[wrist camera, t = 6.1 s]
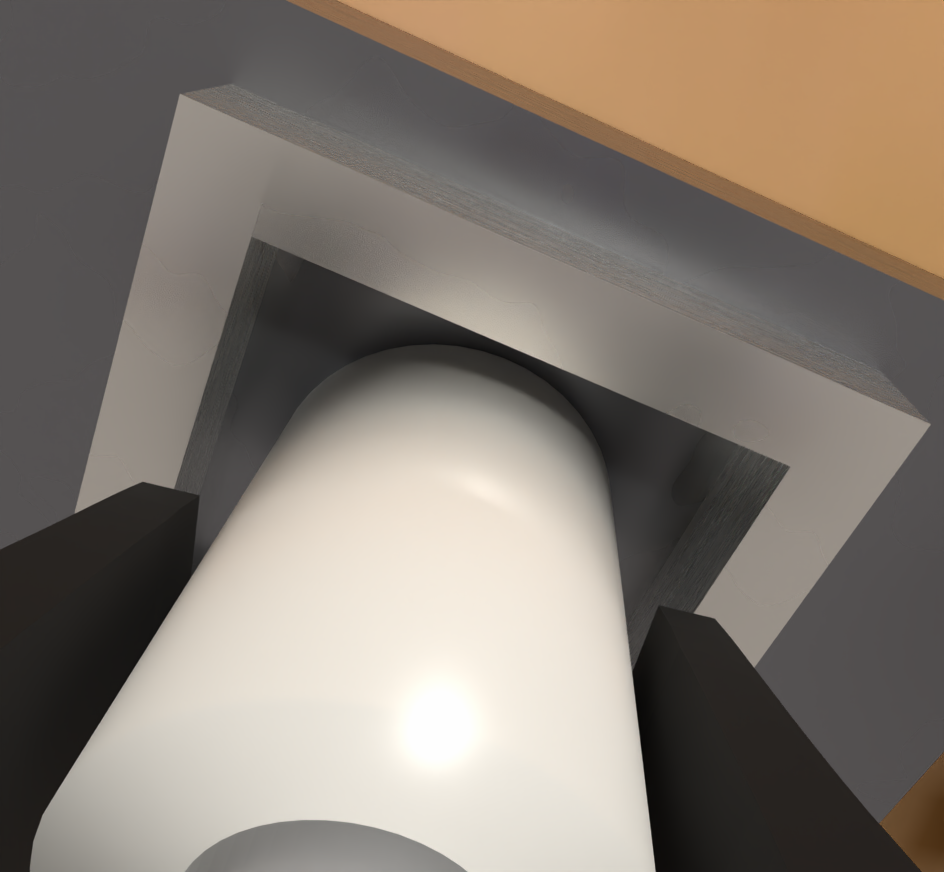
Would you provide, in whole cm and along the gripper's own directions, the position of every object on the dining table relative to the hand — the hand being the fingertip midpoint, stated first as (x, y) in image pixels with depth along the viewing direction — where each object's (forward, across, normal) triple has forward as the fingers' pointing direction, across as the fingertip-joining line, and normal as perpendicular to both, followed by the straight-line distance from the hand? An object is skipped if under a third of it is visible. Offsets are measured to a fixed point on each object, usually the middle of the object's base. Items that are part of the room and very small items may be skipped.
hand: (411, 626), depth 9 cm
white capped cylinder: (+2, 0, 0) cm, 2 cm away
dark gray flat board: (+5, 0, 0) cm, 5 cm away
